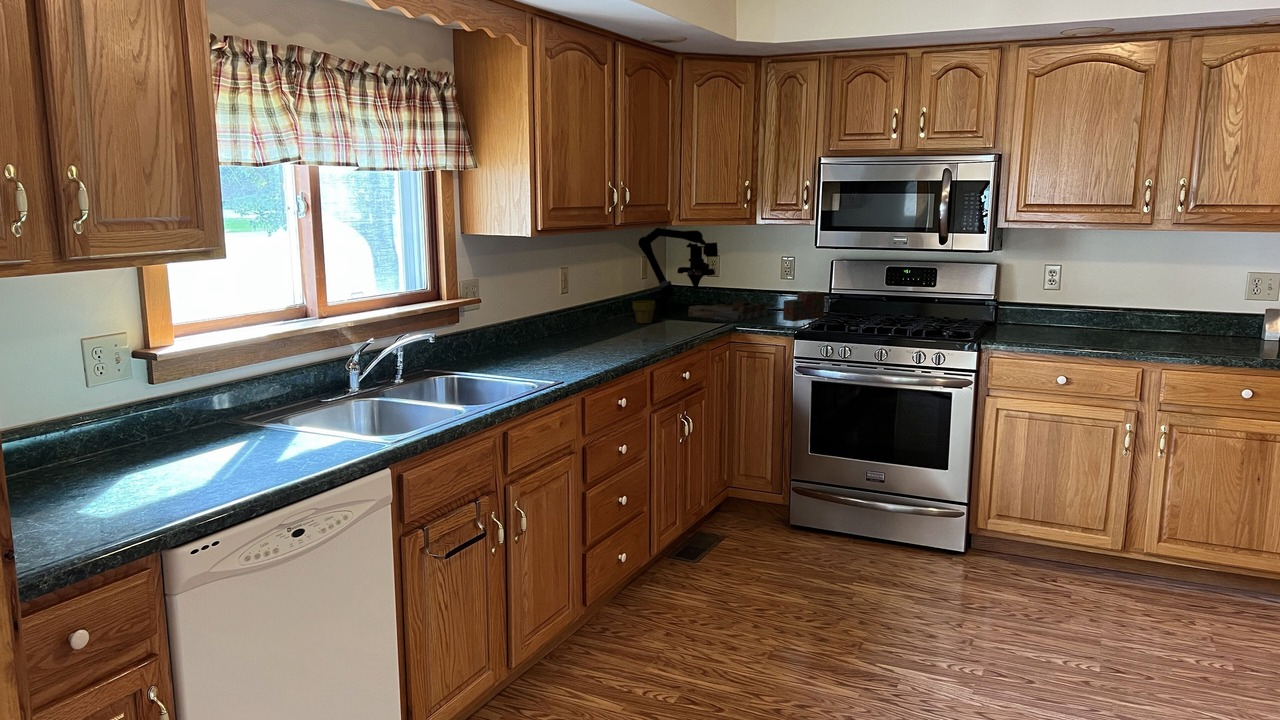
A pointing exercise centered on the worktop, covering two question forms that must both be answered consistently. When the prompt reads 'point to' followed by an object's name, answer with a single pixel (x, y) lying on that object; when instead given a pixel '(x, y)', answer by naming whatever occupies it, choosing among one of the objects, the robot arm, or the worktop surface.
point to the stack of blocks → (804, 306)
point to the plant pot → (644, 311)
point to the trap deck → (728, 312)
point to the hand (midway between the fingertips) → (695, 288)
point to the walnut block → (739, 305)
